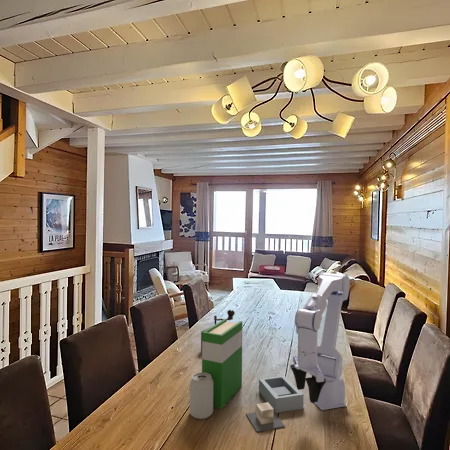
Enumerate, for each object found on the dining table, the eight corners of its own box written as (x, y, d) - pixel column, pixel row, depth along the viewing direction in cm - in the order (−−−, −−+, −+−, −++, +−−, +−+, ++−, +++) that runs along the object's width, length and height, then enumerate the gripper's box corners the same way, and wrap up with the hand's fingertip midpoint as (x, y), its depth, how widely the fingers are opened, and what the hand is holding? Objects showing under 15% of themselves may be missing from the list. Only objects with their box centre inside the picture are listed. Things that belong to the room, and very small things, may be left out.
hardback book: (223, 381, 127) (224, 318, 127) (241, 385, 124) (242, 321, 124) (201, 403, 111) (202, 332, 111) (221, 409, 108) (222, 335, 108)
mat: (272, 410, 107) (272, 409, 107) (284, 427, 98) (284, 425, 98) (246, 414, 104) (246, 413, 104) (256, 432, 96) (256, 430, 96)
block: (268, 414, 104) (268, 402, 104) (273, 422, 100) (273, 409, 100) (256, 416, 103) (256, 404, 103) (261, 424, 99) (261, 411, 99)
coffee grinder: (220, 356, 151) (220, 316, 151) (200, 351, 157) (200, 313, 157) (236, 345, 164) (236, 309, 164) (217, 341, 170) (217, 306, 170)
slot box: (284, 388, 122) (284, 375, 122) (303, 408, 109) (303, 394, 109) (258, 391, 119) (259, 378, 119) (275, 412, 106) (275, 398, 106)
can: (213, 407, 109) (213, 370, 109) (213, 420, 101) (213, 381, 101) (190, 407, 109) (190, 370, 109) (188, 420, 101) (189, 381, 101)
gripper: (284, 342, 105) (283, 385, 105) (308, 360, 91) (307, 410, 91) (304, 340, 107) (303, 382, 107) (330, 358, 93) (330, 406, 93)
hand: (307, 395), depth 99 cm, fingers open, 7 cm apart
